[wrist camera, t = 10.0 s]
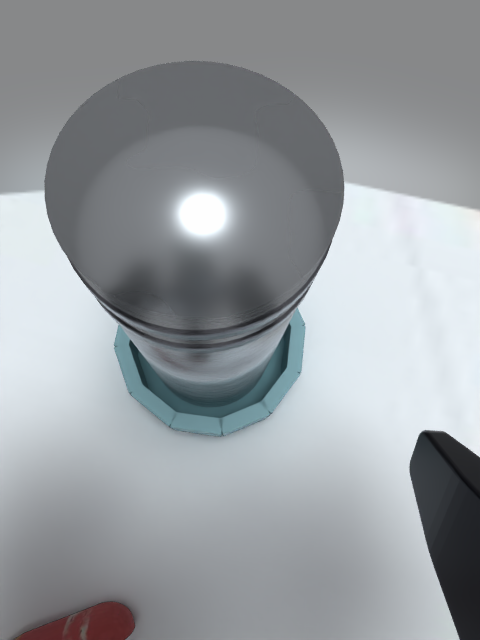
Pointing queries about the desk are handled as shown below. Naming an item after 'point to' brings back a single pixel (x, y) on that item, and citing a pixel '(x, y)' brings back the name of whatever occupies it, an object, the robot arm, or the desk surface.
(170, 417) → the ring collar
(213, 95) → the piston
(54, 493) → the desk surface
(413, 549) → the desk surface
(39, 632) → the pliers
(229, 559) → the desk surface
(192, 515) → the desk surface
